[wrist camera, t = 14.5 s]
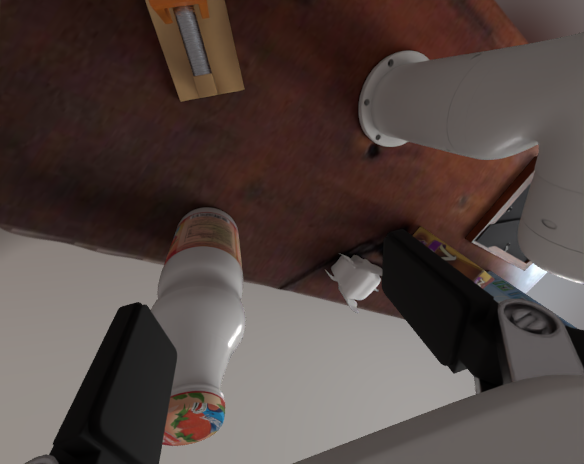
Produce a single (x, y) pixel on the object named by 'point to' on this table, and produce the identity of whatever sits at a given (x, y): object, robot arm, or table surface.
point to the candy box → (454, 258)
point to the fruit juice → (200, 320)
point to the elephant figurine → (355, 278)
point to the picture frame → (506, 222)
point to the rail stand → (199, 50)
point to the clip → (162, 3)
